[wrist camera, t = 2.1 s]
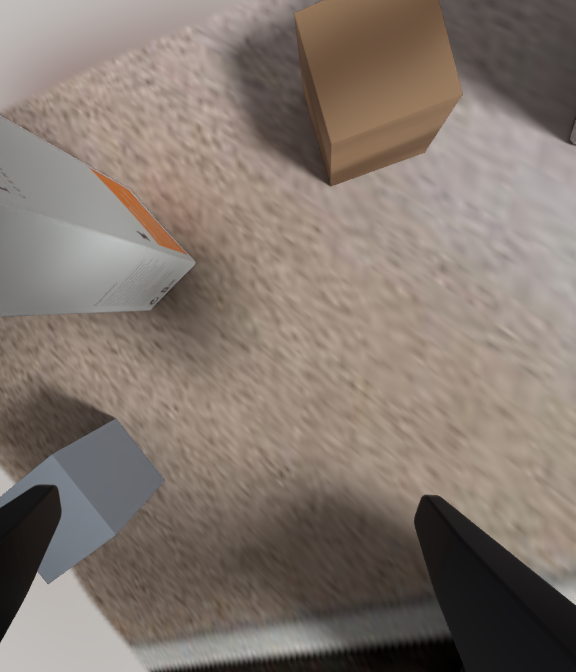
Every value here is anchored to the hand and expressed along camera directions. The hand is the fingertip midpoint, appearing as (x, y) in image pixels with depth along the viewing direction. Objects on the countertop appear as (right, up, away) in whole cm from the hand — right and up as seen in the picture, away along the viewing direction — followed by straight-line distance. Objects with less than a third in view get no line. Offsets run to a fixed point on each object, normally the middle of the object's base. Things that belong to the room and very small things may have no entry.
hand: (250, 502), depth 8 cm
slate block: (-10, -5, +13) cm, 17 cm away
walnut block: (+5, +15, +9) cm, 18 cm away
